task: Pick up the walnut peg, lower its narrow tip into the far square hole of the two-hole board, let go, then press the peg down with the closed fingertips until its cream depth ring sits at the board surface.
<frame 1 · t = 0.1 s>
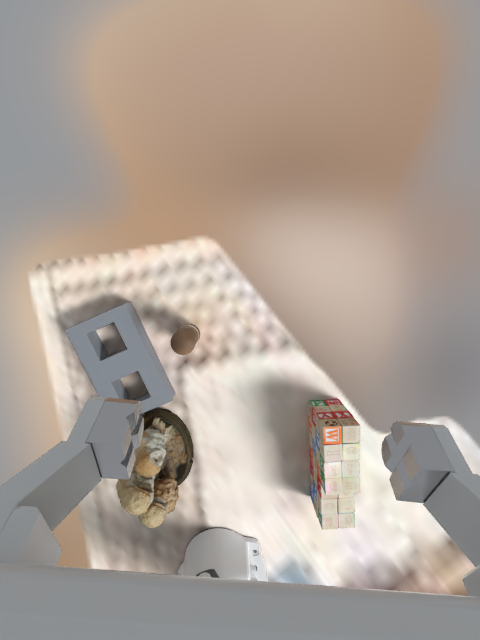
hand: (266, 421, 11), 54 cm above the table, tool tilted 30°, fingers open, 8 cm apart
two-hole board: (126, 360, 66), on the table
walnut peg: (190, 332, 65), on the table
beige rough lumpy piece: (165, 448, 69), on the table
stack of blocks: (323, 448, 69), on the table
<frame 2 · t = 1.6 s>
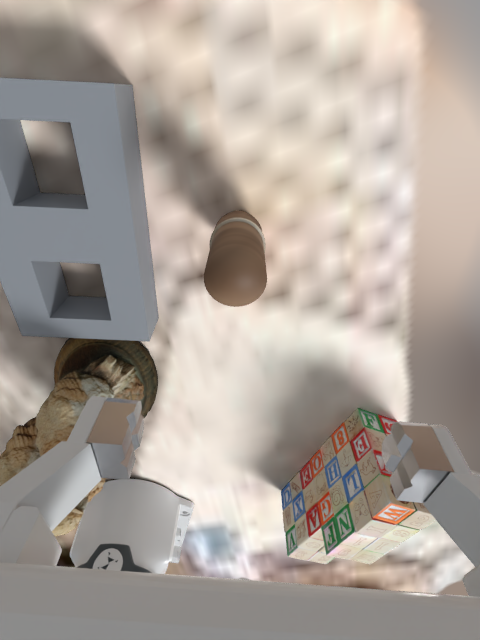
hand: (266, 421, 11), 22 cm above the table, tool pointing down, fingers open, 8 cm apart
two-hole board: (79, 220, 29), on the table
walnut peg: (238, 227, 30), on the table
beige rough lumpy piece: (109, 382, 41), on the table
stack of blocks: (332, 457, 49), on the table
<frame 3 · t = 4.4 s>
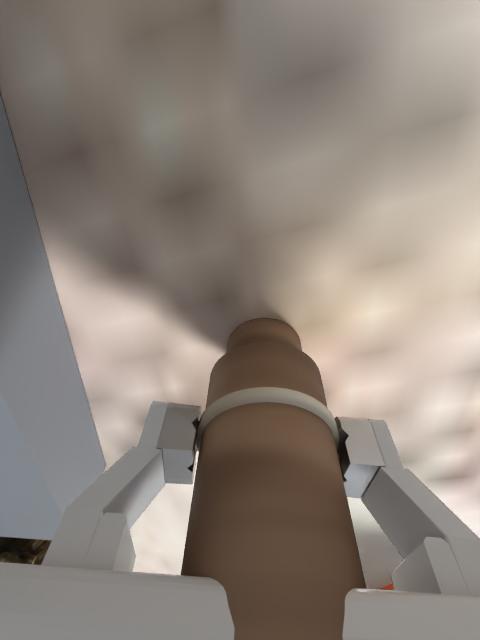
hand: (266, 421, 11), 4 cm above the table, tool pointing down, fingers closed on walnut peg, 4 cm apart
walnut peg: (263, 347, 14), on the table, touching gripper
beige rough lumpy piece: (35, 525, 26), on the table
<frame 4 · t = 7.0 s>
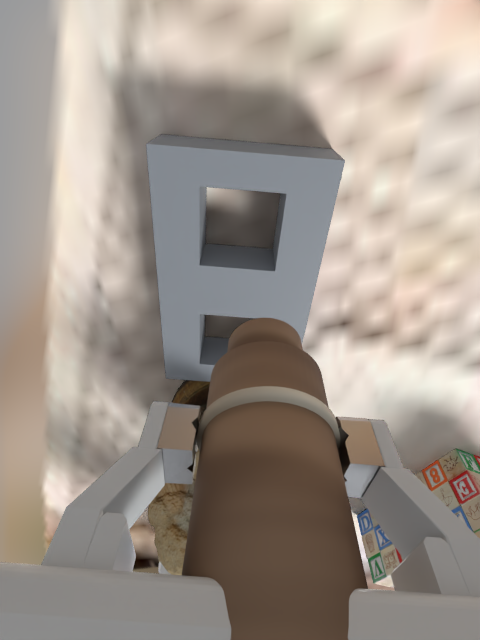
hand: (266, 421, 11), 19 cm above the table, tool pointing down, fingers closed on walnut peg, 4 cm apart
two-hole board: (237, 269, 29), on the table
walnut peg: (264, 347, 14), point 16 cm above the table, touching gripper
beige rough lumpy piece: (218, 413, 41), on the table
stack of blocks: (415, 488, 50), on the table
when the fingers open (6 cm above the table, at t = 9.9 s): walnut peg drops 2 cm, resting in two-hole board.
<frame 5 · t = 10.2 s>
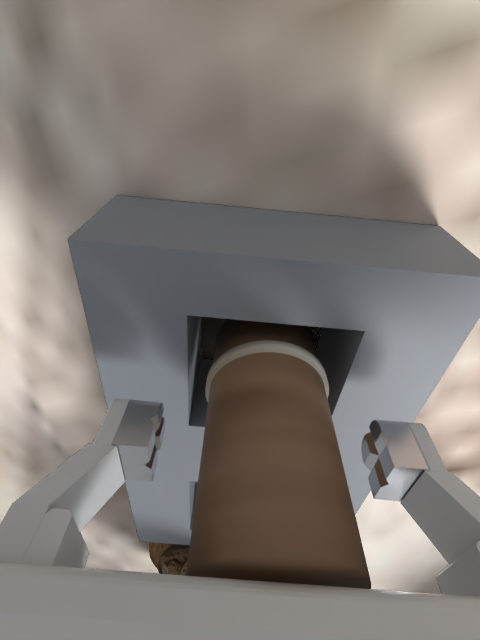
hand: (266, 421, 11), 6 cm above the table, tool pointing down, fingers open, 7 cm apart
two-hole board: (251, 392, 18), on the table
walnut peg: (262, 318, 15), resting in two-hole board
beige rough lumpy piece: (218, 537, 30), on the table
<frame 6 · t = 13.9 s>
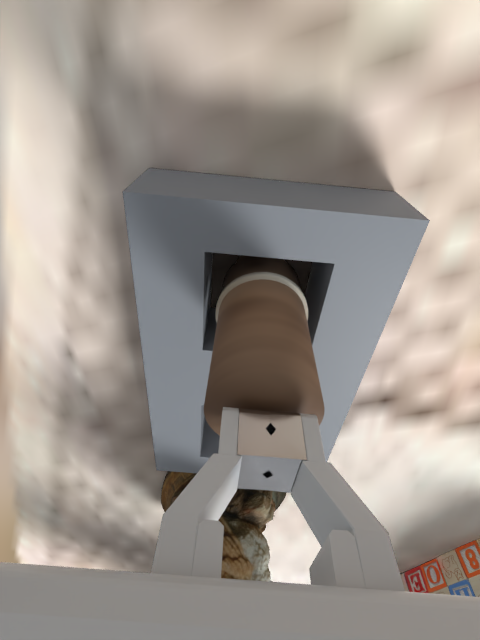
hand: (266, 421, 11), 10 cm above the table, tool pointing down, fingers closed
two-hole board: (251, 338, 22), on the table
walnut peg: (260, 271, 19), resting in two-hole board
beige rough lumpy piece: (222, 486, 34), on the table
stack of blocks: (444, 563, 44), on the table
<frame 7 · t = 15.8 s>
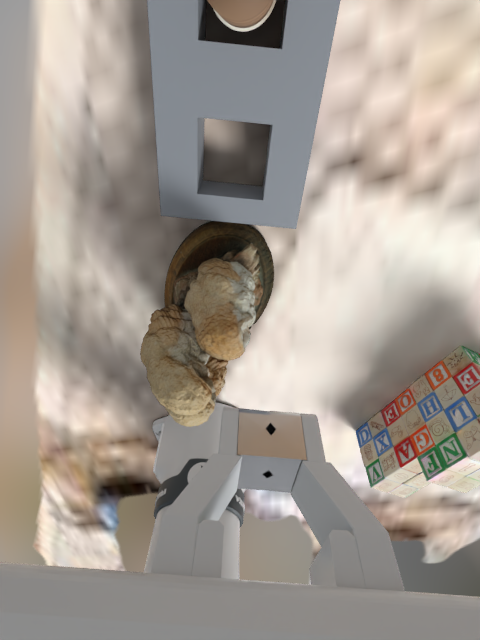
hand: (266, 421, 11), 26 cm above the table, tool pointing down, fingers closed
two-hole board: (239, 82, 27), on the table
beige rough lumpy piece: (217, 289, 39), on the table
stack of blocks: (417, 398, 49), on the table
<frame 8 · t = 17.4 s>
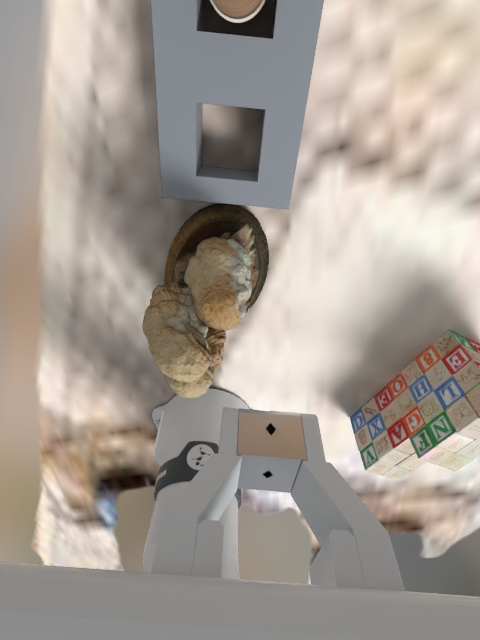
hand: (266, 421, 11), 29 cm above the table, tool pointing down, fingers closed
two-hole board: (235, 72, 29), on the table
beige rough lumpy piece: (215, 274, 41), on the table
stack of blocks: (408, 383, 51), on the table
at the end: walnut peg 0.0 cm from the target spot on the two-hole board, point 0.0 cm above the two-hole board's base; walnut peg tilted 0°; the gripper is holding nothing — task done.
